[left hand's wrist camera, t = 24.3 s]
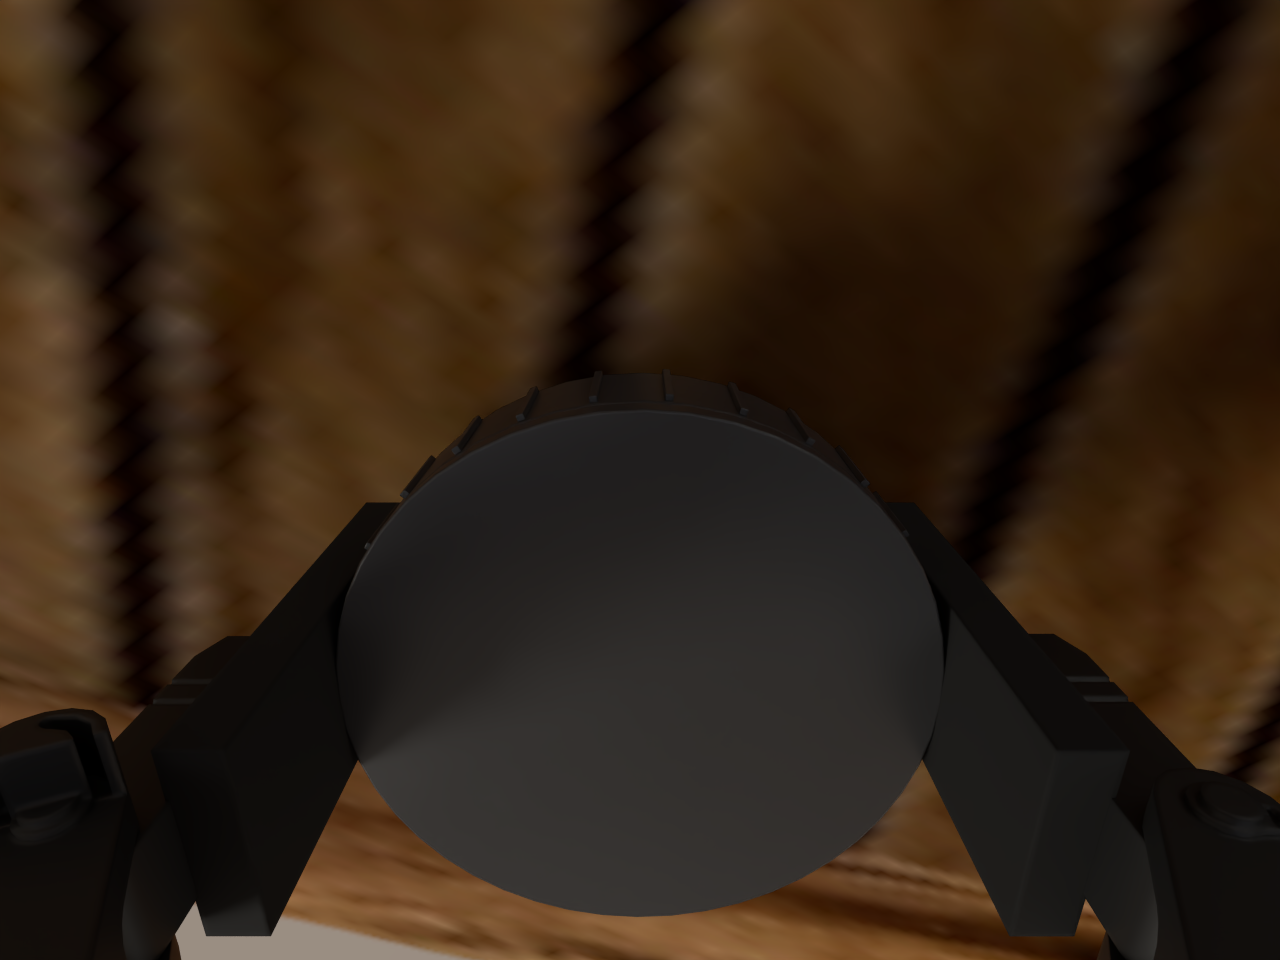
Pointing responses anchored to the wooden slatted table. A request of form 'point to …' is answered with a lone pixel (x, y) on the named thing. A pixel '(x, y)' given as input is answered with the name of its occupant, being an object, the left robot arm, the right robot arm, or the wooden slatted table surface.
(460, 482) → the lid
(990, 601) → the left robot arm
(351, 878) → the wooden slatted table surface
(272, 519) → the wooden slatted table surface
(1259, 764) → the wooden slatted table surface
